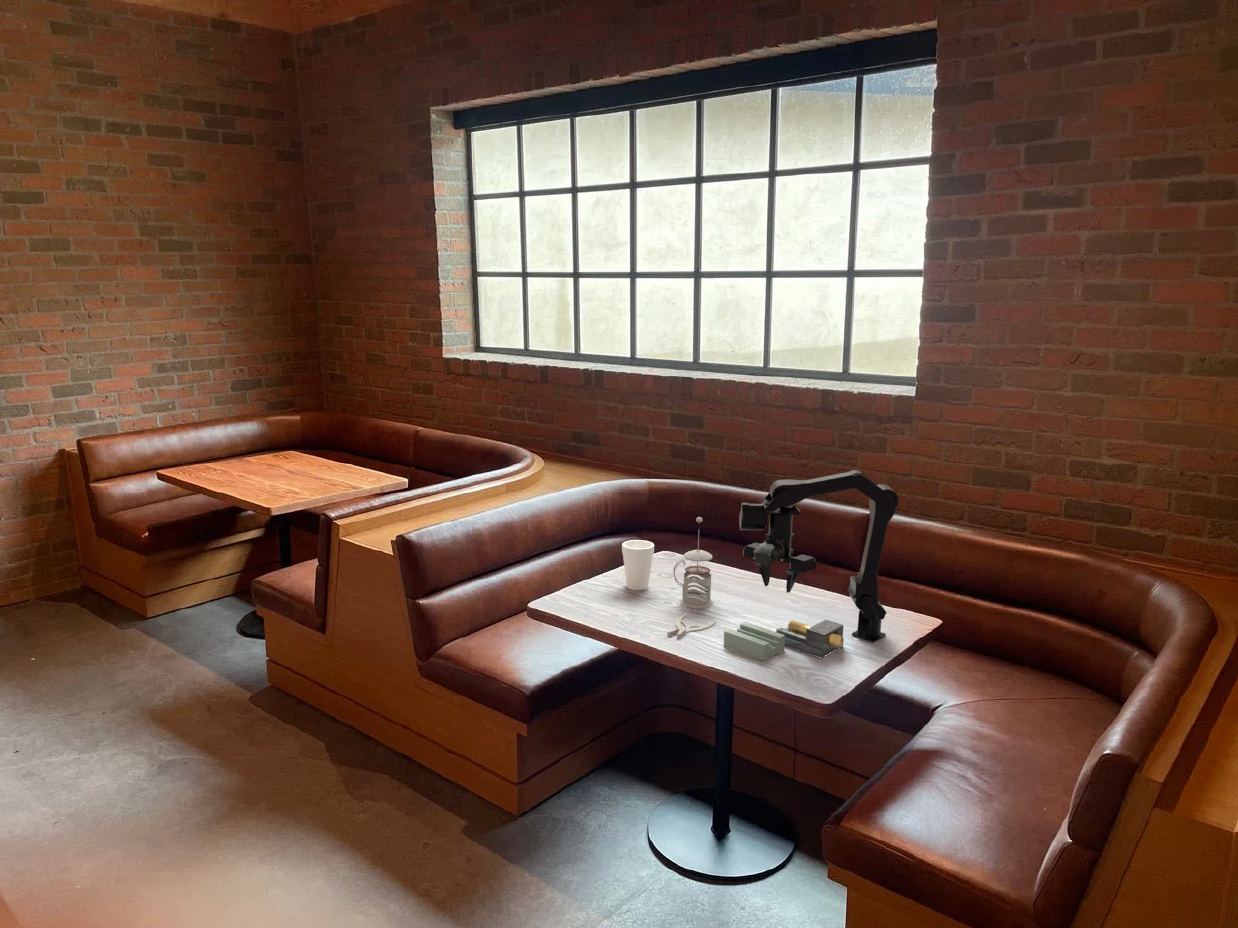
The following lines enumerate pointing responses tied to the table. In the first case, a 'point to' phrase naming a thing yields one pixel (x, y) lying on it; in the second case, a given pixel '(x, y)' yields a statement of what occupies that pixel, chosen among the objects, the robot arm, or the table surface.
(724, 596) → the table surface
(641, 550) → the foam cup
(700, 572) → the french press
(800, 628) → the axle
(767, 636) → the v block
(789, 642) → the grey slotted block
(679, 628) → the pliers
